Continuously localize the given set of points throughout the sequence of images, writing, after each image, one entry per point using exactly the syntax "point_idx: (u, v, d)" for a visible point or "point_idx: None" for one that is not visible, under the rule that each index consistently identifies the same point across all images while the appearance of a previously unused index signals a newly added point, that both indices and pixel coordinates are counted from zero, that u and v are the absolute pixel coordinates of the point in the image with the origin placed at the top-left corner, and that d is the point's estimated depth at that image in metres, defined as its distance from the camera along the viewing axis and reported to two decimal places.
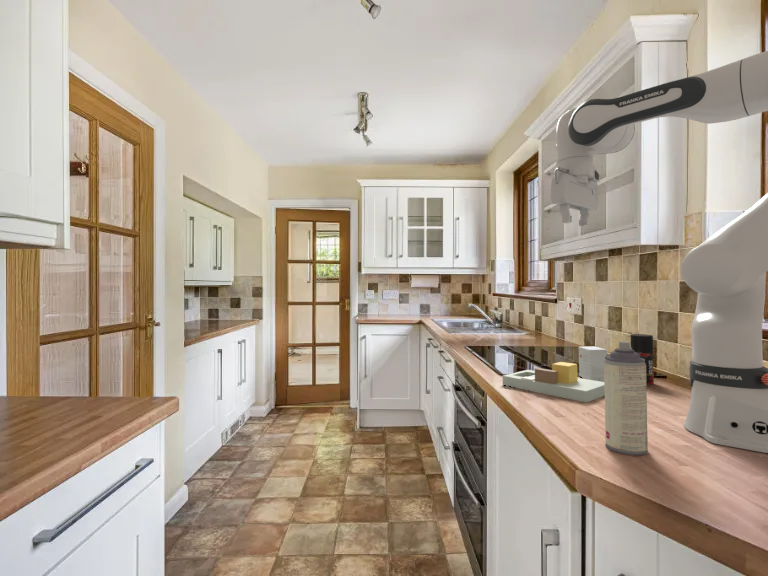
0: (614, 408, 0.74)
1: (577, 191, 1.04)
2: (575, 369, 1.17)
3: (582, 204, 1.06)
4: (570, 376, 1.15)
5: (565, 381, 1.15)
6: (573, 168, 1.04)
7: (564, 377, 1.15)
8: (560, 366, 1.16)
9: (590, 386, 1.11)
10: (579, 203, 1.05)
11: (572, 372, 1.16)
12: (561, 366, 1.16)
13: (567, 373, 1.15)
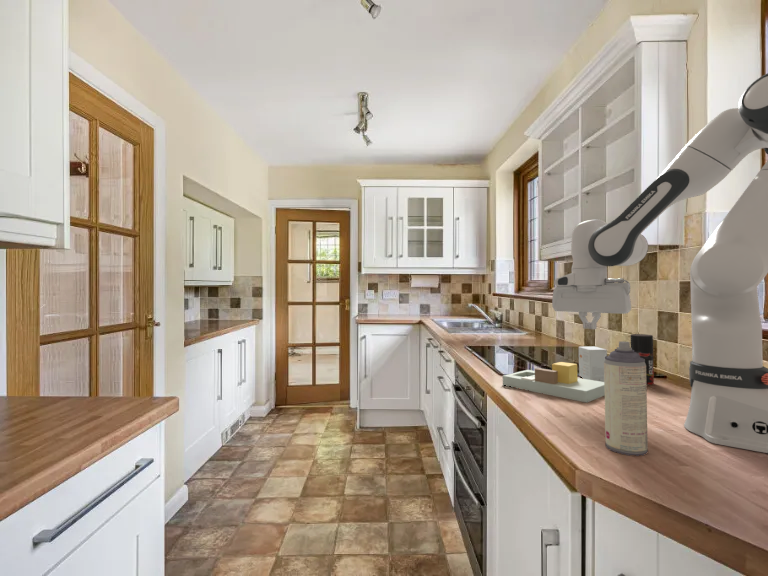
0: (614, 408, 0.74)
1: None
2: (575, 369, 1.17)
3: None
4: (570, 376, 1.15)
5: (565, 381, 1.15)
6: (606, 278, 1.10)
7: (564, 377, 1.15)
8: (560, 366, 1.16)
9: (590, 386, 1.11)
10: None
11: (572, 372, 1.16)
12: (561, 366, 1.16)
13: (567, 373, 1.15)
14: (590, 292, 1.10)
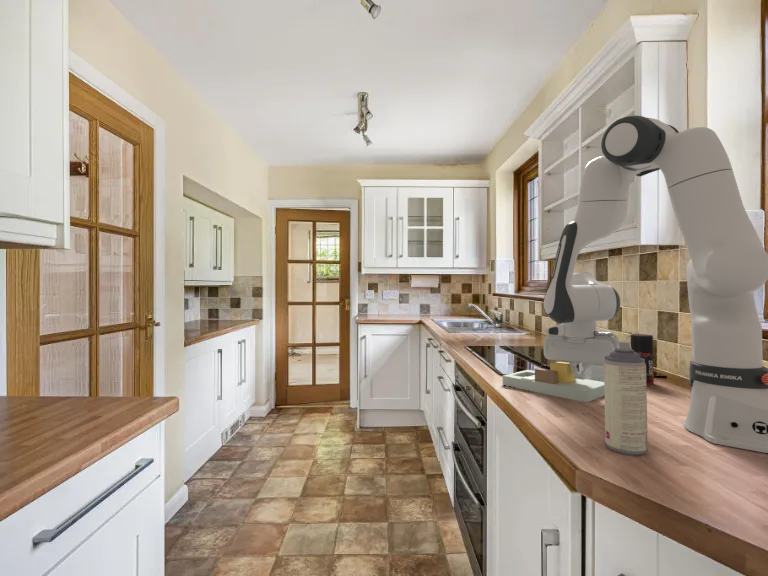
0: (614, 408, 0.74)
1: None
2: None
3: None
4: (568, 375, 1.16)
5: (563, 380, 1.16)
6: (596, 330, 1.12)
7: (562, 377, 1.16)
8: (558, 366, 1.17)
9: (590, 386, 1.11)
10: None
11: (570, 372, 1.16)
12: (559, 366, 1.17)
13: (565, 372, 1.15)
14: (580, 344, 1.13)
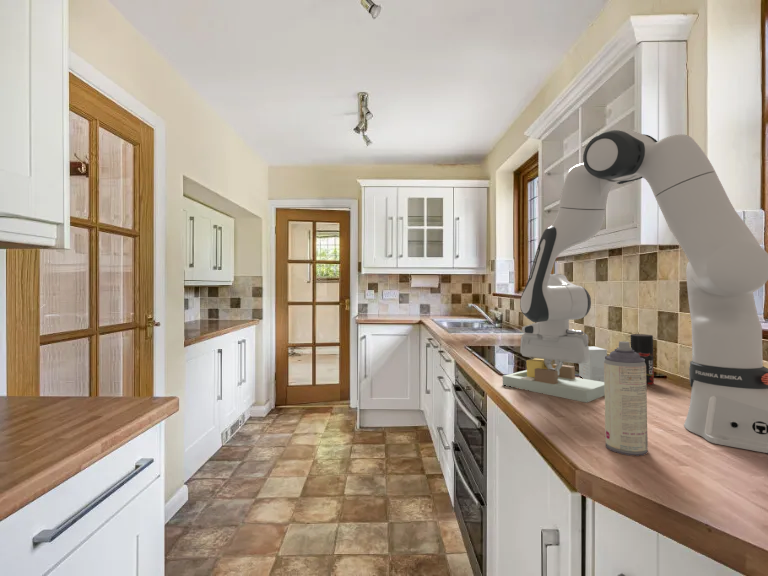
0: (614, 408, 0.74)
1: None
2: None
3: None
4: None
5: None
6: (568, 329, 1.19)
7: None
8: (533, 362, 1.23)
9: (590, 386, 1.11)
10: None
11: (545, 368, 1.22)
12: (534, 362, 1.23)
13: None
14: (553, 341, 1.19)
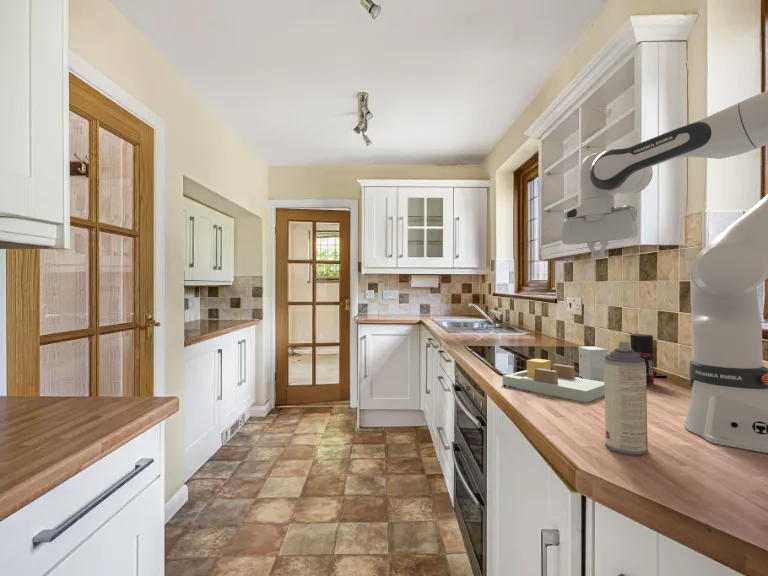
0: (614, 408, 0.74)
1: None
2: (548, 365, 1.23)
3: None
4: None
5: None
6: None
7: None
8: (534, 362, 1.23)
9: (590, 386, 1.11)
10: None
11: (545, 368, 1.22)
12: (535, 362, 1.23)
13: None
14: (598, 221, 1.16)
